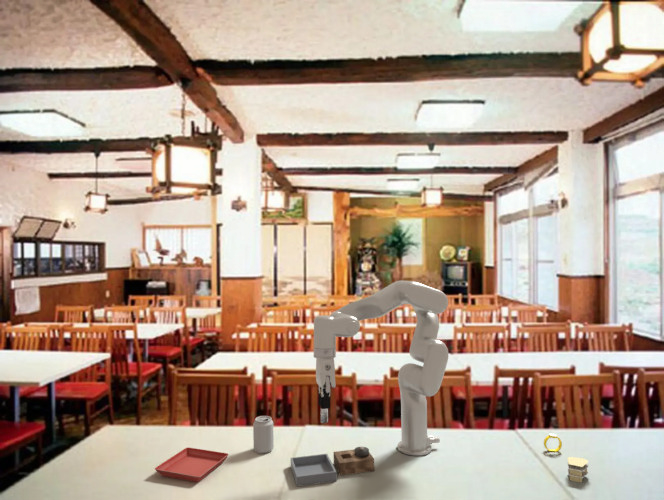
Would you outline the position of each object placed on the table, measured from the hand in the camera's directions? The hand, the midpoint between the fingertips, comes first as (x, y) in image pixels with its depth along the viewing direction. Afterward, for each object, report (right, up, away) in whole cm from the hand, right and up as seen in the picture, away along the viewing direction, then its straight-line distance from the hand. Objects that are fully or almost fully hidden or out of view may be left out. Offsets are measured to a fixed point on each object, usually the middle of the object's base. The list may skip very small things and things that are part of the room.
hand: (324, 406), depth 154 cm
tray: (-4, -22, -1) cm, 22 cm away
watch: (+84, -21, +13) cm, 87 cm away
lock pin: (0, -5, 0) cm, 5 cm away
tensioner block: (+10, -22, +3) cm, 24 cm away
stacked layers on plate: (+82, -21, -7) cm, 85 cm away
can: (-23, -23, +18) cm, 37 cm away
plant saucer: (-45, -23, +3) cm, 51 cm away
